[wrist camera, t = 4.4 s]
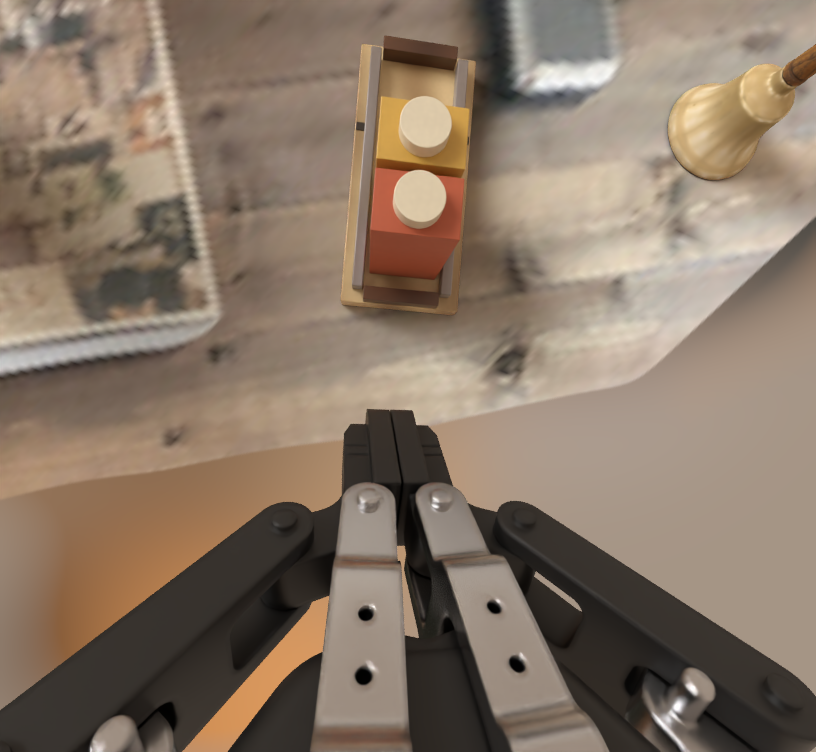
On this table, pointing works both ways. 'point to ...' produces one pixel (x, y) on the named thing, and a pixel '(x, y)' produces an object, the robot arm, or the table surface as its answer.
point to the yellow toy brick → (422, 136)
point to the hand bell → (733, 116)
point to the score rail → (379, 76)
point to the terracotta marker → (414, 222)
